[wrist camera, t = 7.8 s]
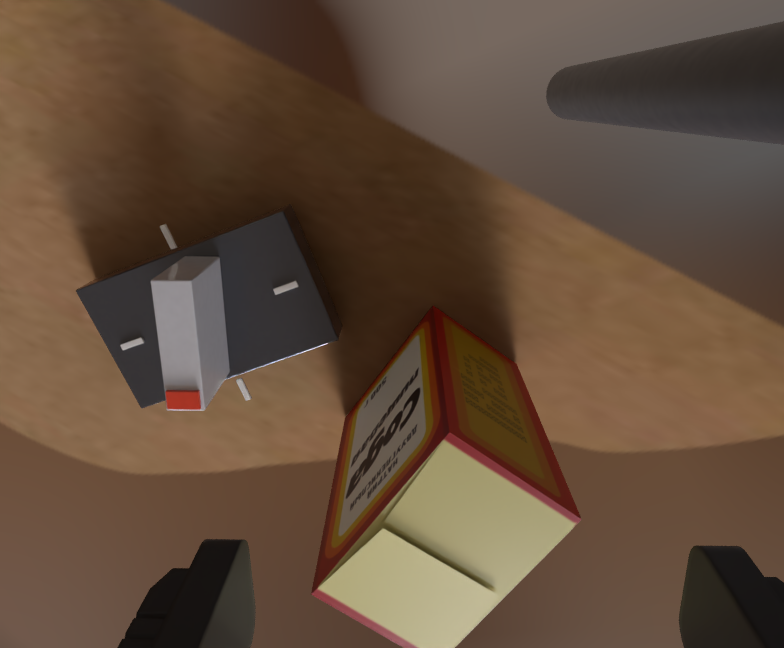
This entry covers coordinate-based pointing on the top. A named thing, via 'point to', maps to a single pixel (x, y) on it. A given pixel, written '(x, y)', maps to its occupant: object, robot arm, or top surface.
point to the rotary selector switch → (240, 295)
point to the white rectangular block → (191, 331)
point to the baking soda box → (439, 491)
